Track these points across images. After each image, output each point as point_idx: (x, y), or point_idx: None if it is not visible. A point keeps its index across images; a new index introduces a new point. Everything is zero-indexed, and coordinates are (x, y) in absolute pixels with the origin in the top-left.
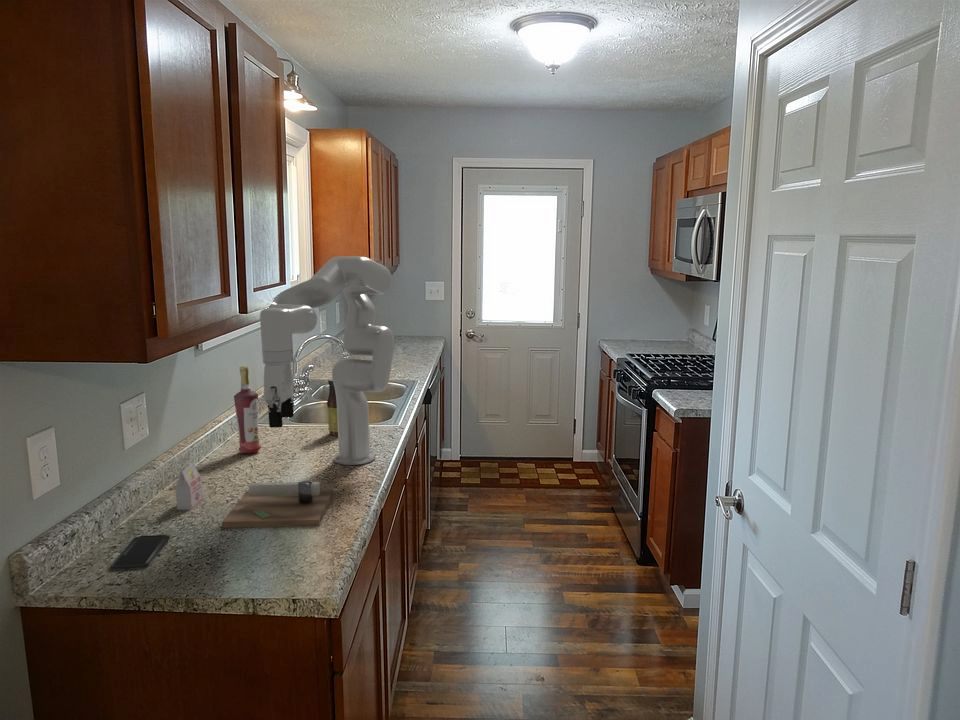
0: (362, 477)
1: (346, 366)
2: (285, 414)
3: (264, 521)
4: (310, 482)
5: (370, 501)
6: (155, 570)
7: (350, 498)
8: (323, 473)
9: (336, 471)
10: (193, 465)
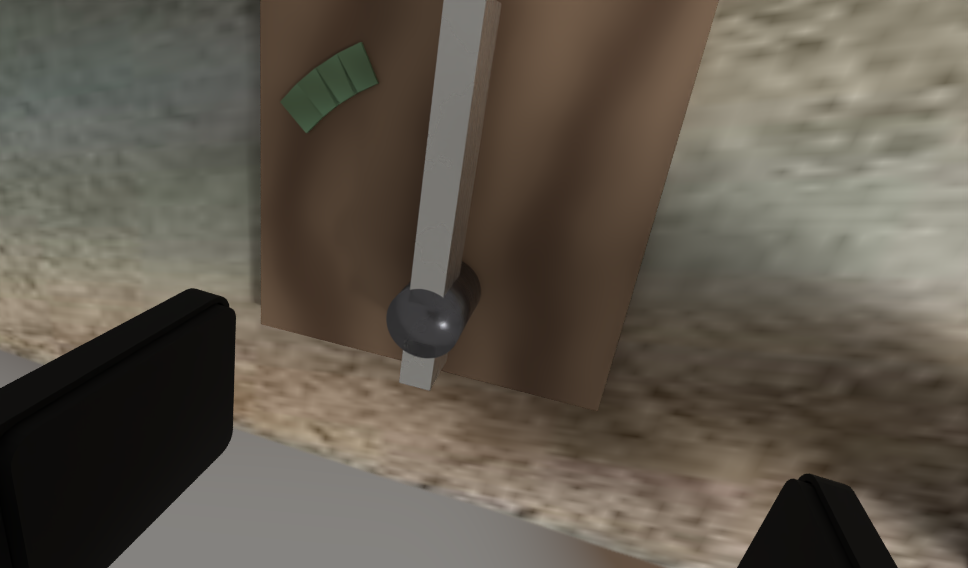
0: None
1: None
2: (771, 564)
3: (262, 108)
4: (428, 350)
5: (469, 499)
6: None
7: (517, 444)
8: (935, 380)
9: (934, 443)
10: None
